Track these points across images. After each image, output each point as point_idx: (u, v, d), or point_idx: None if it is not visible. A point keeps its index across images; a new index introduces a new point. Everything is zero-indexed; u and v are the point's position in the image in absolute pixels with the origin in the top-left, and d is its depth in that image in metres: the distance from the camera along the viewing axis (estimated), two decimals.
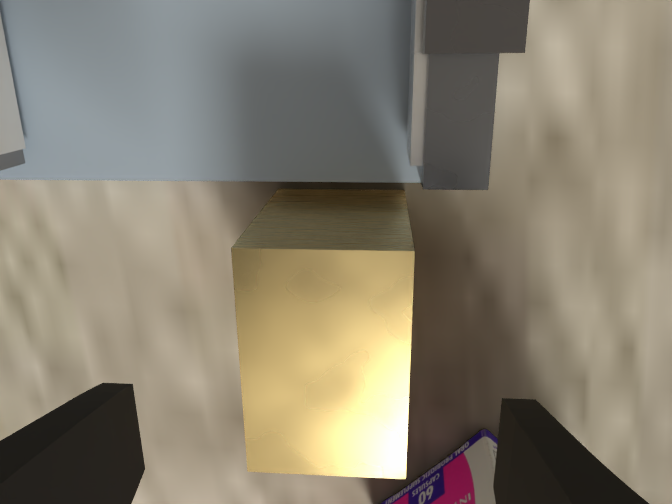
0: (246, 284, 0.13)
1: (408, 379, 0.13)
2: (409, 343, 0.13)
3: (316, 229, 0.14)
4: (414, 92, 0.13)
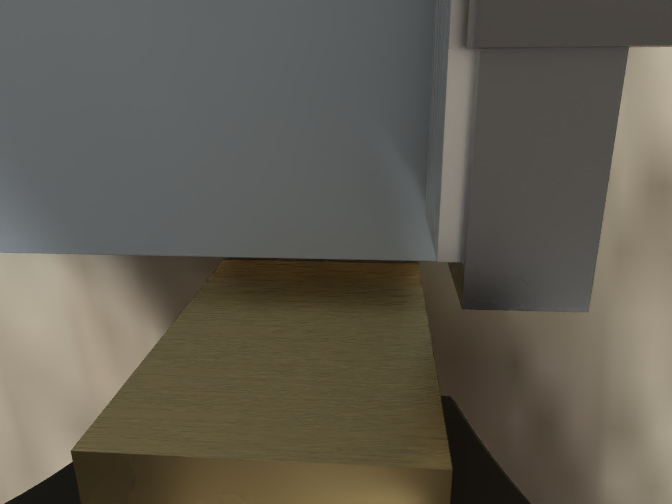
0: None
1: None
2: None
3: (259, 378, 0.07)
4: (447, 125, 0.06)
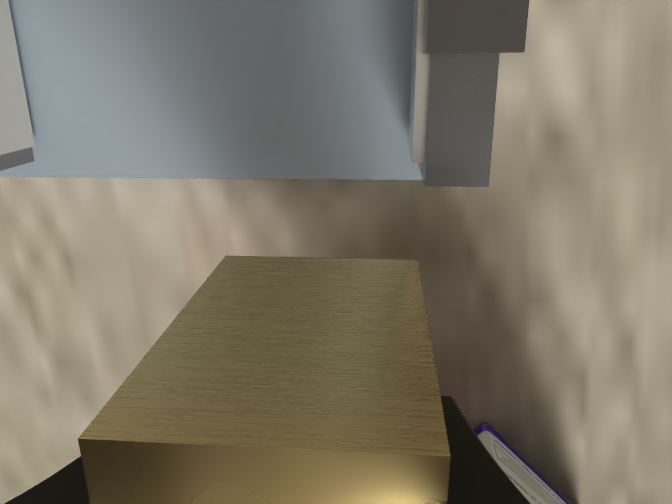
0: (114, 502, 0.06)
1: None
2: None
3: (261, 370, 0.07)
4: (416, 91, 0.13)
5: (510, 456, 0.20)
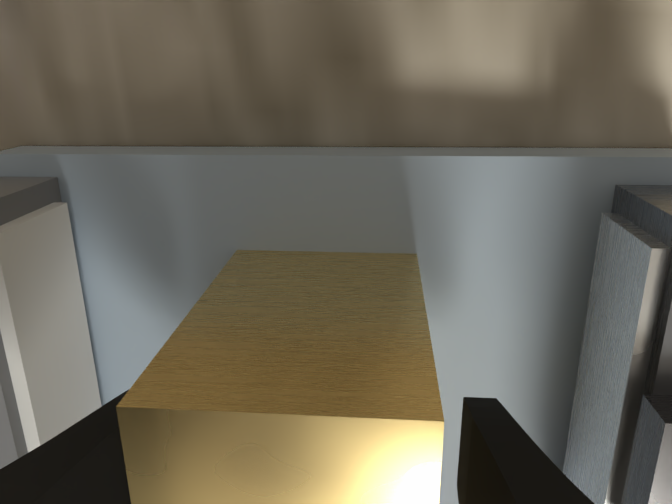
0: (146, 464, 0.07)
1: None
2: None
3: (275, 350, 0.08)
4: None
5: None
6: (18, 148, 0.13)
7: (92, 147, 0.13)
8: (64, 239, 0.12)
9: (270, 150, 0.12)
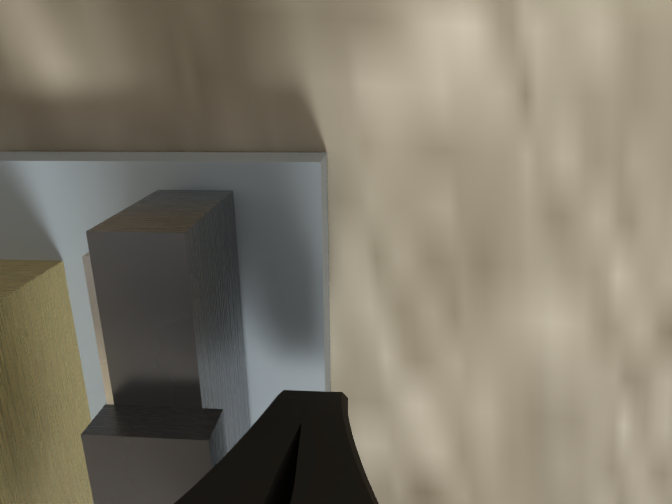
0: None
1: None
2: None
3: None
4: None
5: None
6: None
7: None
8: None
9: None
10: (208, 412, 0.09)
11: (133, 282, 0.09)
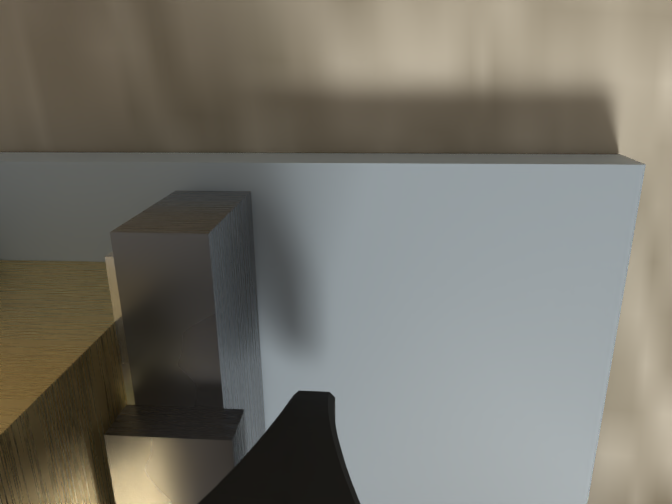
0: None
1: None
2: None
3: None
4: None
5: None
6: None
7: (7, 153, 0.12)
8: None
9: (191, 156, 0.12)
10: (229, 412, 0.09)
11: (157, 282, 0.09)
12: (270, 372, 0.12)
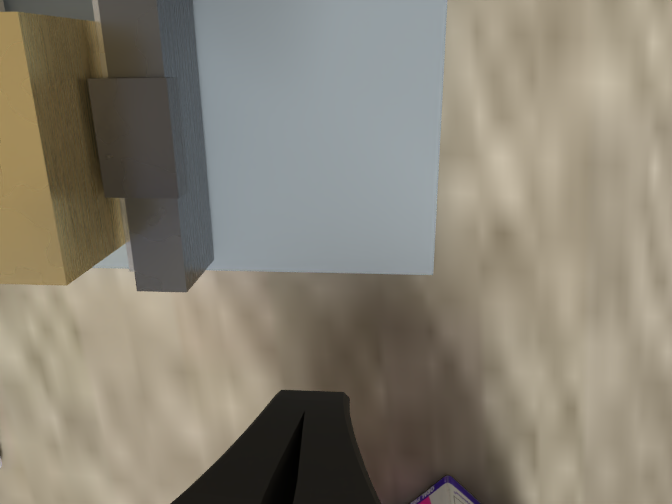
0: None
1: (43, 166, 0.12)
2: (35, 122, 0.12)
3: None
4: (122, 217, 0.16)
5: None
6: None
7: None
8: None
9: None
10: None
11: None
12: (209, 113, 0.18)
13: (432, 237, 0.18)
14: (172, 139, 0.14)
